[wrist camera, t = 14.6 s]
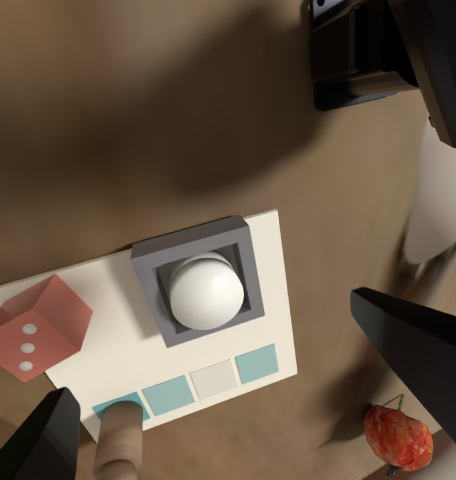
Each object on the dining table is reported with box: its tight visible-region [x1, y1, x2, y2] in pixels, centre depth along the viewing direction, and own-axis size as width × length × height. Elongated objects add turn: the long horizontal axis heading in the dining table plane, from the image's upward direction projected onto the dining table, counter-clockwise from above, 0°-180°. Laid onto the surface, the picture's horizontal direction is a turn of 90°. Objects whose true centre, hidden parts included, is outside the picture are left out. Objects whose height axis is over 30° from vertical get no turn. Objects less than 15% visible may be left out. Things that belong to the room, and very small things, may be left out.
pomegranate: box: [364, 394, 433, 479], centre depth 34 cm, size 7×7×10 cm
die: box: [0, 273, 93, 383], centre depth 18 cm, size 4×4×4 cm
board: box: [0, 208, 297, 443], centre depth 24 cm, size 21×19×1 cm
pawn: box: [93, 401, 143, 480], centre depth 22 cm, size 4×4×7 cm
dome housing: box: [130, 215, 265, 348], centre depth 21 cm, size 8×8×2 cm
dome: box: [169, 250, 244, 330], centre depth 20 cm, size 5×5×3 cm
